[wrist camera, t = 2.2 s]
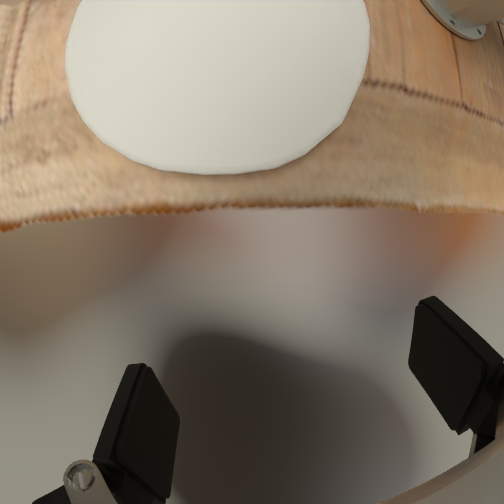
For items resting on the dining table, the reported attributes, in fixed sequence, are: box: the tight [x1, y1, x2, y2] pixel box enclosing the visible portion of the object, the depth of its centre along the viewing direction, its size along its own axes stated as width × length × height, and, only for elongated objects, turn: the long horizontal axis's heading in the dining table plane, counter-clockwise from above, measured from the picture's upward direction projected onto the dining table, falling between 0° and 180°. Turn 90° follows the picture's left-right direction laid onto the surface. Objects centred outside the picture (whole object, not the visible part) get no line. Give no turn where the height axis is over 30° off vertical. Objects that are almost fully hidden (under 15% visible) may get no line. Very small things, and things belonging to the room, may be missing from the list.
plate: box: [65, 0, 370, 175], centre depth 17 cm, size 28×6×27 cm
